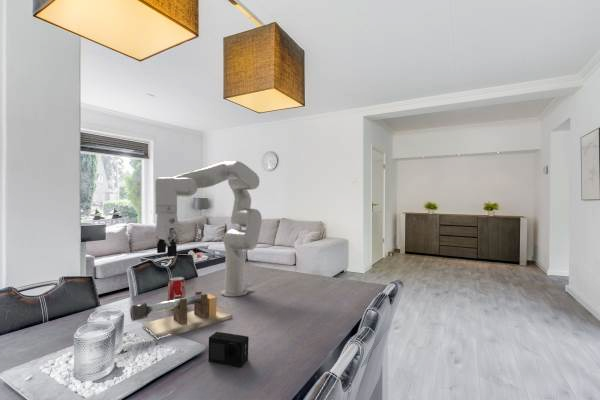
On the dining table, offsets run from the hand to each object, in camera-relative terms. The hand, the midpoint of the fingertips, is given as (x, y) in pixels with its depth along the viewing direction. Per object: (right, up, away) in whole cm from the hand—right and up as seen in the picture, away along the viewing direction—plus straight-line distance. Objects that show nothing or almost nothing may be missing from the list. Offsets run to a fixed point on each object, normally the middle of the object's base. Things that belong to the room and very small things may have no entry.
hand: (166, 254), depth 115 cm
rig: (+10, -25, -3) cm, 27 cm away
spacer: (+15, -20, +2) cm, 25 cm away
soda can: (-2, -25, +14) cm, 28 cm away
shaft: (+5, -19, -8) cm, 21 cm away
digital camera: (+31, -25, -30) cm, 50 cm away
